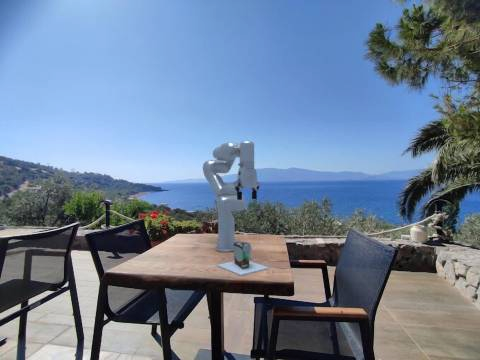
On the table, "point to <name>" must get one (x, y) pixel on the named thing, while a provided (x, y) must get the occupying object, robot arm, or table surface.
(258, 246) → the table surface
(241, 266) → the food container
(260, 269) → the mat
